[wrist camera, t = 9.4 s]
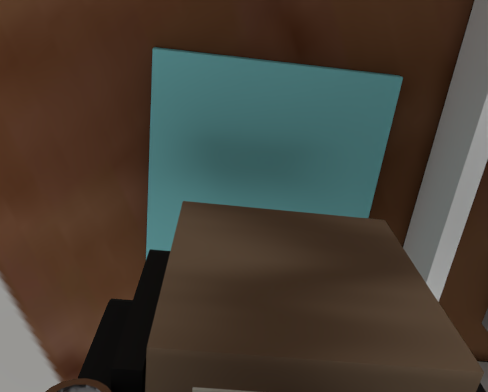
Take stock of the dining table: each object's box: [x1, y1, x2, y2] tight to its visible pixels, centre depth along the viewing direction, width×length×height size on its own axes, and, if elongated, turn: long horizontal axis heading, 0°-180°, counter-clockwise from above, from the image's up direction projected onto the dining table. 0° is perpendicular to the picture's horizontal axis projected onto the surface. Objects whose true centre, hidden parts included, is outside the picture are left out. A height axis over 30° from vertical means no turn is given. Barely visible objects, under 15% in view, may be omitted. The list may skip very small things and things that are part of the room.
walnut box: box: [145, 201, 484, 392], centre depth 10 cm, size 5×5×5 cm
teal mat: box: [146, 47, 403, 259], centre depth 20 cm, size 10×10×1 cm
